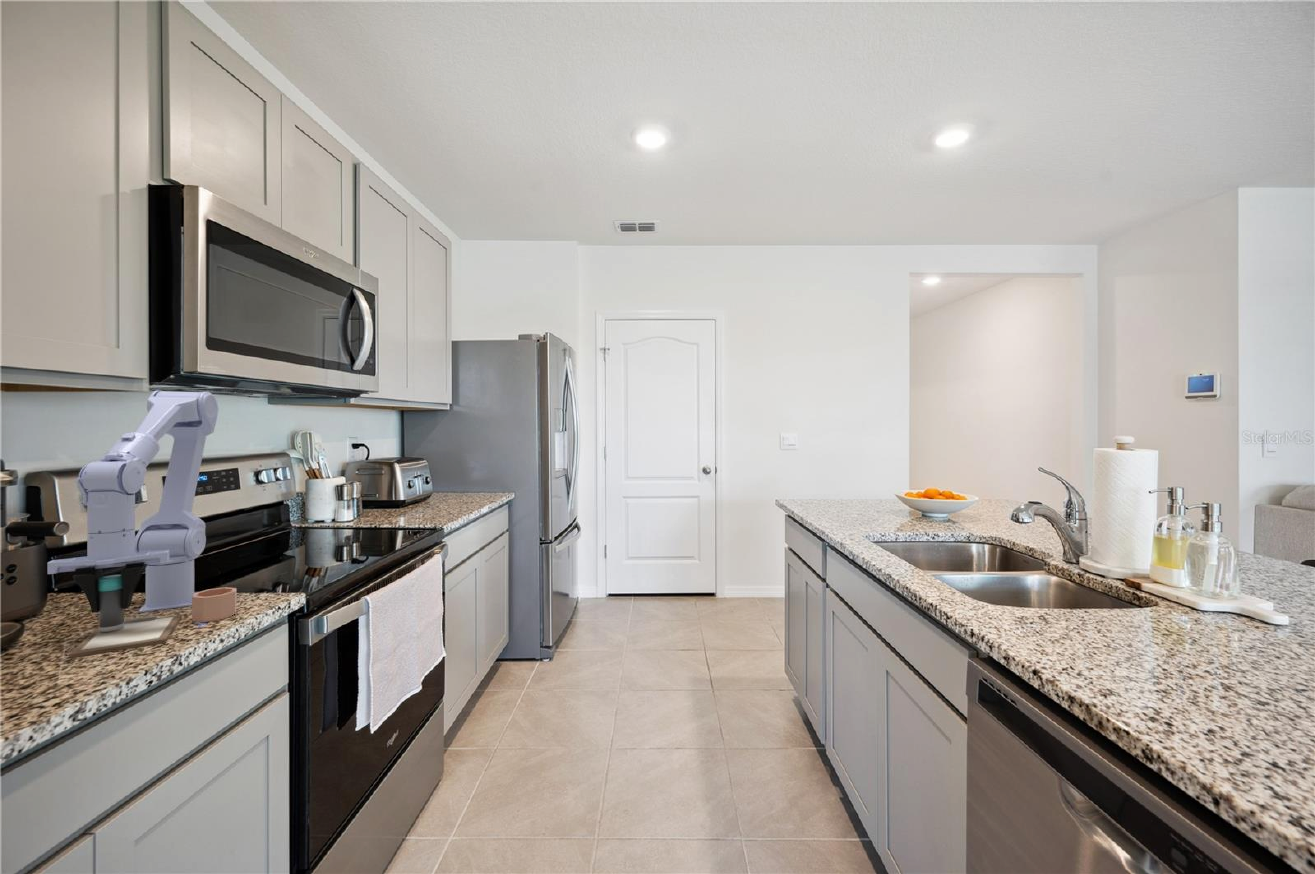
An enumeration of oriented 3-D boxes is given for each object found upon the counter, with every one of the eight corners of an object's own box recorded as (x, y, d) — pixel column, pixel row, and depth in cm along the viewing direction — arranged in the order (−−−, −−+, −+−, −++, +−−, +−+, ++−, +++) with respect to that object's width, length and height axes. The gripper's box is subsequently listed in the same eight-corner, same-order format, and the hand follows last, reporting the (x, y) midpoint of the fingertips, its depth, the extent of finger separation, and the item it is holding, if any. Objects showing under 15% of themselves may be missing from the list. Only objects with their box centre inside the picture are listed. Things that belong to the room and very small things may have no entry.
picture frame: (98, 629, 93) (98, 623, 93) (181, 617, 99) (181, 611, 99) (69, 658, 81) (69, 650, 81) (165, 642, 87) (165, 635, 87)
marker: (101, 628, 91) (101, 576, 91) (127, 624, 93) (127, 573, 93) (95, 633, 88) (95, 580, 88) (121, 630, 90) (122, 577, 90)
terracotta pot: (196, 614, 101) (196, 590, 101) (237, 608, 104) (237, 585, 104) (190, 624, 95) (190, 599, 95) (234, 617, 99) (234, 593, 99)
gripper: (39, 539, 83) (39, 624, 83) (163, 530, 91) (163, 608, 91) (56, 531, 89) (56, 611, 89) (172, 524, 97) (171, 597, 97)
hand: (111, 609), depth 91 cm, fingers closed on marker, 3 cm apart
